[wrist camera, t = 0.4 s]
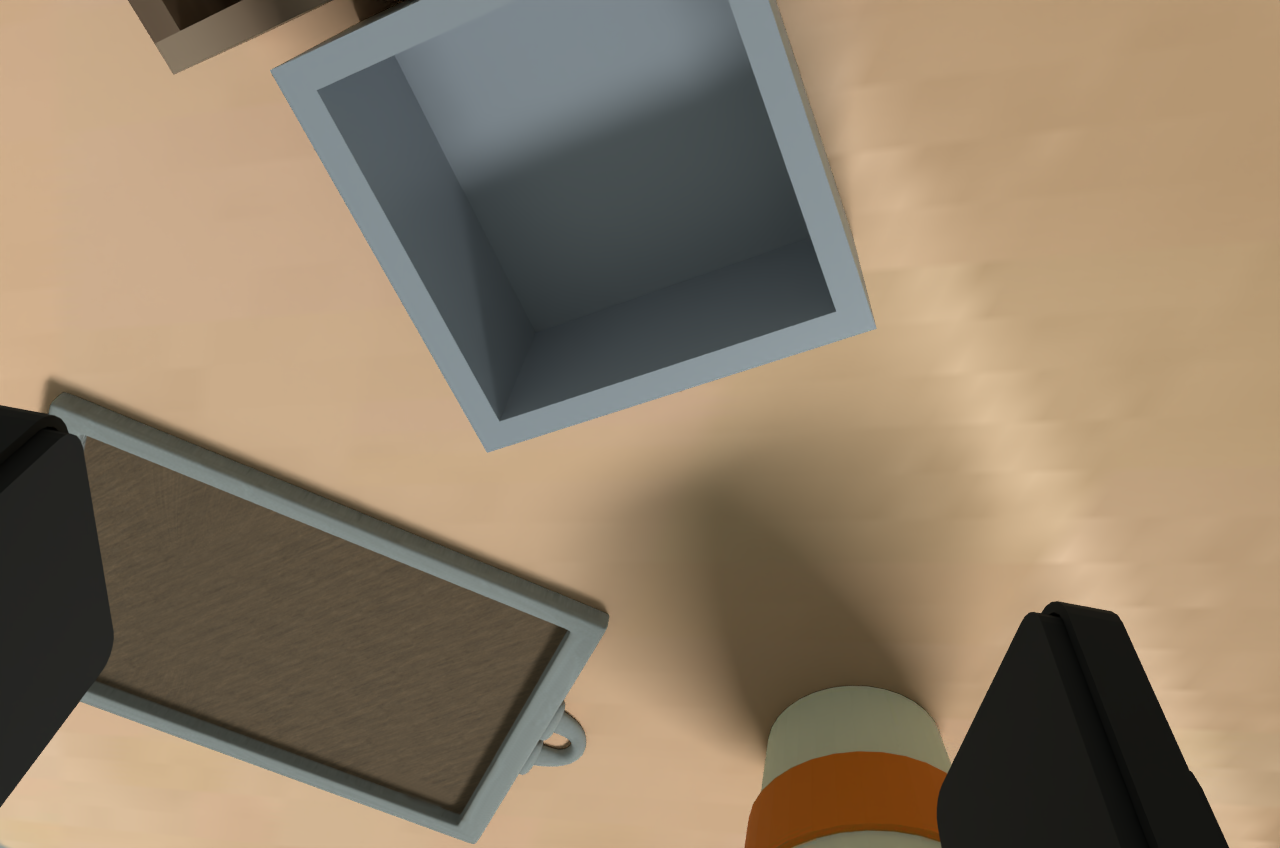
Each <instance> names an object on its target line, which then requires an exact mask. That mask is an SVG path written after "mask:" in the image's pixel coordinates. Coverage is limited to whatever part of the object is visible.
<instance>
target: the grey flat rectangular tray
mask: <svg viewBox="0 0 1280 848" xmlns="http://www.w3.org/2000/svg"><path fill="white" fill-rule="evenodd" d="M49 414H50V415H55V416H57V417H59V418H61V419H62V420H63V422H64V423H65V424H66V426H67V429H68V432H69V433H70V434H74V435H76V436H78V438H79V439H80V440H81V443H82V446H83V450H84V456H85V462H86V468H87V474H88V480H89V486H90V492H91V498H92V504H93V510H94V516H95V522H96V528H97V534H98V540H99V546H100V552H101V558H102V564H103V570H104V576H105V582H106V588H107V594H108V600H109V606H110V613H111V619H112V625H113V631H114V641H113V648H112V651H111V655H110V657H109V660H108V662H107V664H106V666H105V667H104V669H103V671H102V672H101V673H100V675H99V676H98V677H97V679H96V680H95V681H94V683H93V684H92V686H91V687H90V688H89V690H88V691H87V692H86V694H85V695H84V696H83V698H82V699H81V700H80V702H83V703H86V704H88V705H91V706H94V707H97V708H99V709H102V710H105V711H108V712H110V713H113V714H116V715H119V716H121V717H124V718H127V719H130V720H132V721H135V722H138V723H141V724H143V725H146V726H149V727H152V728H154V729H157V730H160V731H163V732H165V733H168V734H171V735H174V736H176V737H179V738H182V739H185V740H187V741H190V742H193V743H196V744H198V745H201V746H204V747H207V748H209V749H212V750H215V751H218V752H220V753H223V754H226V755H229V756H231V757H234V758H237V759H240V760H242V761H245V762H248V763H251V764H253V765H256V766H259V767H262V768H264V769H267V770H270V771H273V772H275V773H278V774H281V775H284V776H286V777H289V778H292V779H295V780H297V781H300V782H303V783H306V784H308V785H311V786H314V787H317V788H319V789H322V790H325V791H328V792H330V793H333V794H336V795H339V796H341V797H344V798H347V799H350V800H352V801H355V802H358V803H361V804H363V805H366V806H369V807H372V808H374V809H377V810H380V811H383V812H385V813H388V814H391V815H394V816H396V817H399V818H402V819H405V820H407V821H410V822H413V823H416V824H418V825H421V826H424V827H427V828H429V829H432V830H435V831H438V832H440V833H443V834H446V835H449V836H451V837H454V838H457V839H460V840H462V841H465V842H468V843H471V844H475V843H476V842H477V841H478V840H479V838H480V837H481V835H482V833H483V832H484V830H485V828H486V827H487V825H488V823H489V822H490V820H491V819H492V817H493V815H494V814H495V812H496V810H497V809H498V807H499V805H500V804H501V802H502V800H503V799H504V797H505V796H506V794H507V792H508V791H509V789H510V787H511V786H512V784H513V782H514V781H515V779H516V777H517V776H518V774H522V775H523V774H526V773H527V772H529V770H530V769H531V768H532V766H533V765H537V766H562V765H567V764H570V763H572V762H574V761H576V760H578V759H579V758H580V757H581V756H582V754H583V752H584V750H585V748H586V736H585V732H584V731H583V729H582V727H581V726H580V724H579V723H578V722H577V721H576V720H575V719H574V718H572V717H571V716H570V715H568V714H567V713H566V712H564V710H565V703H564V701H563V700H564V699H565V697H566V695H567V694H568V692H569V690H570V689H571V687H572V685H573V684H574V682H575V681H576V679H577V677H578V676H579V674H580V672H581V671H582V669H583V667H584V666H585V664H586V662H587V661H588V659H589V658H590V656H591V654H592V653H593V651H594V649H595V648H596V646H597V644H598V643H599V641H600V639H601V638H602V636H603V634H604V633H605V631H606V629H607V626H608V621H609V615H608V614H606V613H604V612H602V611H600V610H597V609H595V608H592V607H590V606H588V605H585V604H583V603H580V602H578V601H575V600H573V599H570V598H568V597H566V596H563V595H561V594H558V593H556V592H553V591H551V590H548V589H546V588H544V587H541V586H539V585H536V584H534V583H531V582H529V581H526V580H524V579H522V578H519V577H517V576H514V575H512V574H509V573H507V572H504V571H502V570H500V569H497V568H495V567H492V566H490V565H487V564H485V563H482V562H480V561H478V560H475V559H473V558H470V557H468V556H465V555H463V554H460V553H458V552H456V551H453V550H451V549H448V548H446V547H443V546H441V545H438V544H436V543H434V542H431V541H429V540H426V539H424V538H421V537H419V536H416V535H414V534H412V533H409V532H407V531H404V530H402V529H399V528H397V527H394V526H392V525H390V524H387V523H385V522H382V521H380V520H377V519H375V518H372V517H370V516H368V515H365V514H363V513H360V512H358V511H355V510H353V509H350V508H348V507H346V506H343V505H341V504H338V503H336V502H333V501H331V500H328V499H326V498H324V497H321V496H319V495H316V494H314V493H311V492H309V491H306V490H304V489H302V488H299V487H297V486H294V485H292V484H289V483H287V482H284V481H282V480H280V479H277V478H275V477H272V476H270V475H267V474H265V473H262V472H260V471H258V470H255V469H253V468H250V467H248V466H245V465H243V464H240V463H238V462H236V461H233V460H231V459H228V458H226V457H223V456H221V455H218V454H216V453H214V452H211V451H209V450H206V449H204V448H201V447H199V446H196V445H194V444H192V443H189V442H187V441H184V440H182V439H179V438H177V437H174V436H172V435H170V434H167V433H165V432H162V431H160V430H157V429H155V428H152V427H150V426H148V425H145V424H143V423H140V422H138V421H135V420H133V419H130V418H128V417H126V416H123V415H121V414H118V413H116V412H113V411H111V410H108V409H106V408H104V407H101V406H99V405H96V404H94V403H91V402H89V401H86V400H84V399H81V398H79V397H76V396H74V395H71V394H68V393H66V392H63V393H62V394H60V395H59V396H58V397H57V398H56V399H55V400H54V401H53V402H52V403H51V405H50V408H49ZM553 732H554V733H557V734H559V735H562V736H564V737H566V738H567V739H569V741H570V742H571V745H570V746H569V747H568V748H566V749H555V748H551V747H548V746H545V745H543V740H547V739H548V738H549V737H550V736H551V735H552V734H553Z"/></svg>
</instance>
